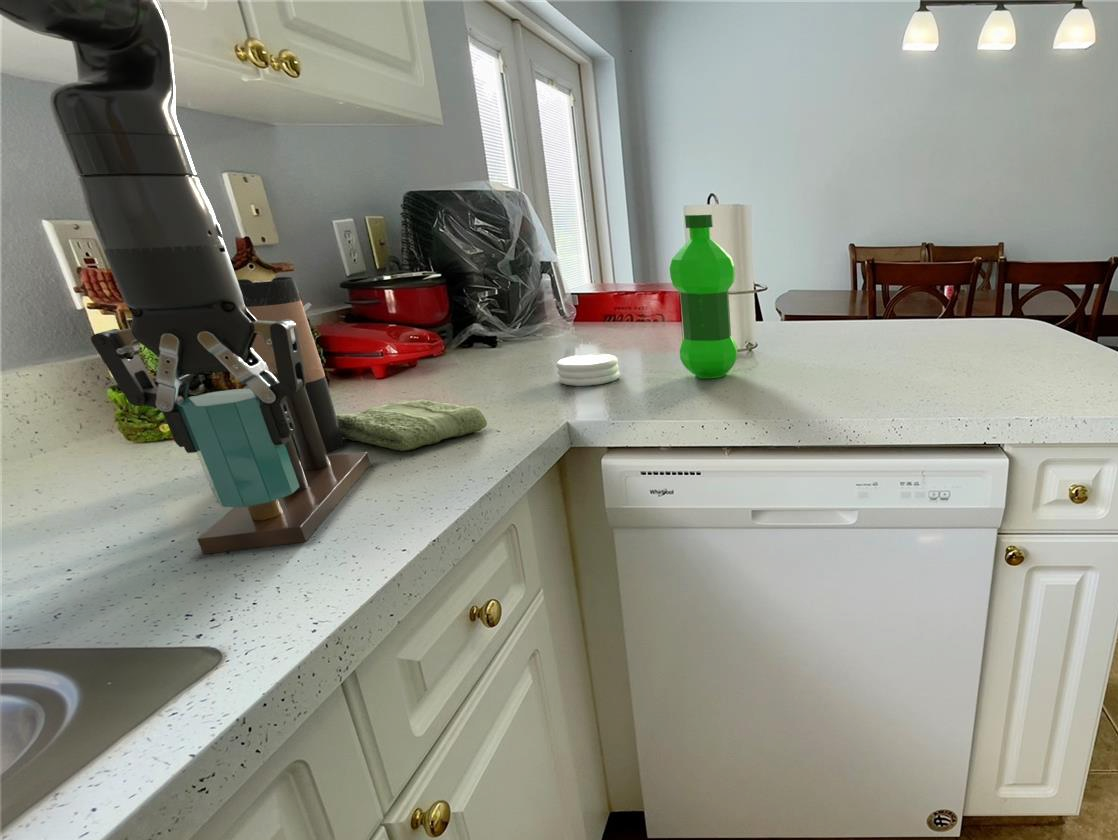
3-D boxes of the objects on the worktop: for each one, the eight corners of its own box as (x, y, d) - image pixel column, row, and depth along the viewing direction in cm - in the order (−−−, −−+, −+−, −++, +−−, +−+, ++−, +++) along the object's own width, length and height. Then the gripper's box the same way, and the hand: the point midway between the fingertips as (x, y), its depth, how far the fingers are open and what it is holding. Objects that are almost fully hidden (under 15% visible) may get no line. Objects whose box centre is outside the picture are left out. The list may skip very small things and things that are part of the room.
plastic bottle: (695, 367, 127) (682, 214, 116) (750, 370, 124) (742, 213, 113) (669, 380, 119) (652, 216, 108) (727, 383, 115) (716, 215, 105)
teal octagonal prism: (205, 511, 61) (162, 409, 57) (236, 486, 67) (199, 391, 63) (283, 502, 63) (247, 402, 59) (307, 478, 68) (275, 386, 64)
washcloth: (421, 412, 103) (415, 390, 102) (496, 430, 94) (491, 406, 93) (326, 436, 93) (319, 412, 92) (400, 458, 85) (393, 432, 83)
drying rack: (203, 554, 62) (145, 420, 57) (294, 471, 81) (257, 366, 76) (306, 542, 64) (259, 411, 59) (371, 463, 83) (340, 360, 78)
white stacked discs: (587, 371, 126) (584, 351, 125) (632, 375, 122) (629, 355, 121) (546, 383, 118) (542, 362, 117) (592, 389, 114) (589, 367, 113)
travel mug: (305, 461, 84) (245, 284, 76) (259, 456, 87) (196, 283, 78) (360, 442, 91) (310, 277, 82) (316, 437, 93) (263, 276, 85)
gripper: (19, 248, 51) (120, 469, 58) (248, 240, 54) (318, 450, 61) (84, 243, 57) (168, 442, 64) (285, 236, 61) (344, 426, 68)
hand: (241, 445), depth 63 cm, fingers closed on teal octagonal prism, 6 cm apart
